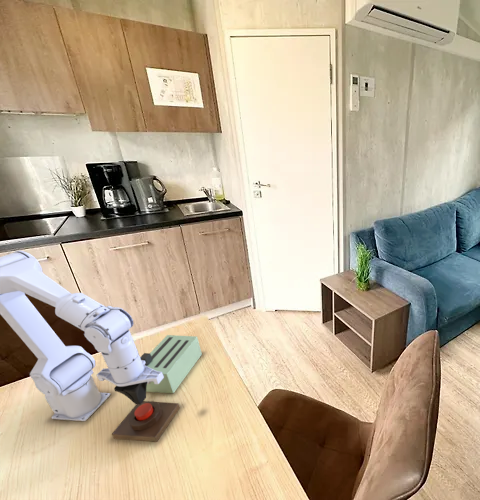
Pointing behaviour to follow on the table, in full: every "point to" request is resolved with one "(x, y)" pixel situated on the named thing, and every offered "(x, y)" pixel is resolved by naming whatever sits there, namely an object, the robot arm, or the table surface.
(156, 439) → the button base
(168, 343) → the toaster
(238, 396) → the table surface
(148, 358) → the browning slider
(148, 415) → the button
